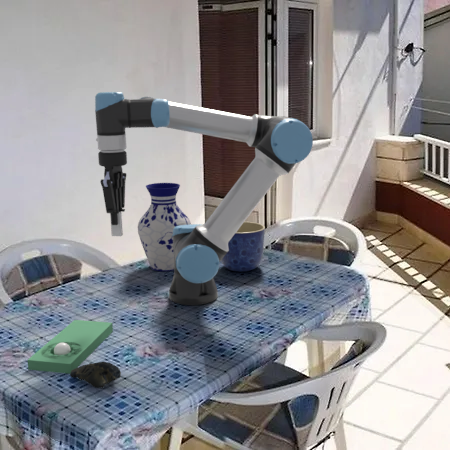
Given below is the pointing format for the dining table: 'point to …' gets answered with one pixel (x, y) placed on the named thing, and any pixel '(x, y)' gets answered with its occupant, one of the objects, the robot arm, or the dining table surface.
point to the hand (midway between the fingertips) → (117, 235)
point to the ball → (62, 349)
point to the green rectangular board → (71, 346)
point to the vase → (161, 226)
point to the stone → (97, 373)
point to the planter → (245, 248)
